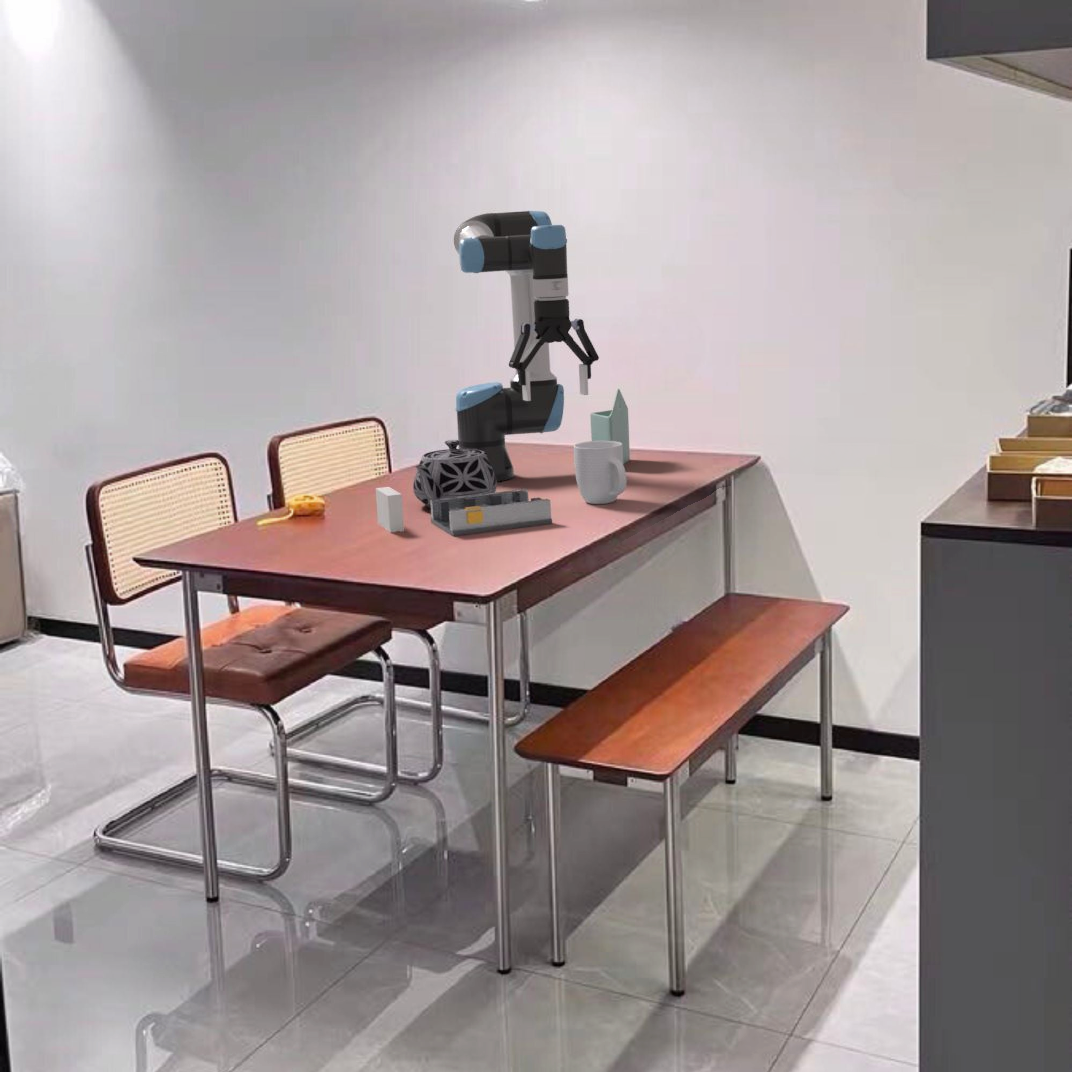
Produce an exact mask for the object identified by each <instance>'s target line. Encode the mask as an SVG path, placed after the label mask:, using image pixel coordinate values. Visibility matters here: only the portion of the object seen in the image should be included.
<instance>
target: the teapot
mask: <svg viewBox="0 0 1072 1072" xmlns="http://www.w3.org/2000/svg"><path fill="white" fill-rule="evenodd" d="M459 443H460V441H459V440H458V439H447V440H446V441H444V444H445V445H446V446H447V447H448V448H447V449H439V450H434V451H433V450H432V451H429V452H426V453H424V454H422V456H421V459H420V461H419V464H417V465H415V466H414V468H416V472H415V475H414V478H413V490H412V491H413V493H414V496H415V497H416V499H417V500H419V502H420V503H422V504H424V506H426V507H427V508H430V509H431V504H430V500H436V499H444V498H453V497H461V496H470V495H478V494H487V493H495V492H496V491H497V487H498V483H497V480H496V476H495V473H494V471H493V469H492V466H491V464H490V463H489V461H488V459H487V454H486V453H485V452H483V451H481V450H476V449H459V448H457V447H459Z"/></svg>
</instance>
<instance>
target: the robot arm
mask: <svg viewBox="0 0 1072 1072" xmlns="http://www.w3.org/2000/svg"><path fill="white" fill-rule="evenodd" d="M567 243H568V239H567V233H566V227H565V226H564V225H562V224H553V223H552V221H551V218H550V216H549V214H548V213H547V212H546V211H540V210H524V211H511V212H510V211H509V212H496V213H495V212H487V213H482V214H477V215H476V216H473V217H471V218H469V219H467V220H465V221H463V222H462V223H461V224H460V225H459V226H458V227H457V229H456V230H455V233H454V237H453V245H454V248H455V251H456V252H457V254H458V255H459V265H460V270H461V271H462V272H463V273H465V274H466V273H467V274H469V273H470V274H471V273H473V274H479V273H489V272H492V273H494V272H506V273H508V275H509V277H510V294H511V295H510V296H511V310H512V311H511V312H512V328H513V344H514V345H513V346H514V350H513V352H512V354H511V356H510V357H511V358H510V360H509V362H508V367H509V368H512V369H515V373H514V374H513V376H511V378H510V381H509V386H510V387H504V386H503V384H502V383H501V382H499V381H497V382H495V381H494V382H487V383H480V384H475V385H471V386H467V387H464V388H462V389H461V390H459V391H457V393H456V396H455V405H456V406H455V412H456V420H457V421H456V425H457V440H459V441H460V443H459V445H458V449H476V450H481V451H483V452H485V453H486V454H487V459H488V461H489V463H490V464H491V466H492V469H493V471H494V473H495V476H496V480H497V482H502V481H506V480H507V481H508V480H511V479H512V478H514V476H515V475H514V474H515V473H514V472H515V471H514V465H513V463H512V460H511V459H510V455H509V453H508V451H507V448H506V437H505V436H509V435H522V434H523V435H524V434H525V435H526V434H544V433H550V432H555V431H557V430H559V428H560V427H561V425H562V422H563V415H564V407H565V393H564V392H565V389H564V386H563V385H562V384H560V383H558V377H557V376H556V375H555V374H553V372H552V371H551V362H550V361H551V360H550V359H551V358H550V343H554V342H556V343H562V342H564V344H565V345H567V347H568V348H569V350H571V352H572V353H573V354H574V355H575V356H576V357H577V358H578V359H579V361H581V363H580V364H578V373H579V394H580V395H582V396H583V395H584V396H588V395H589V381H588V380H591V378H592V368H591V367H592V365H593V363H594V362H598V361H599V358H600V356H599V355H598V353H597V351H596V349H595V347H594V345H593V342H592V341H591V339H590V337H589V335H588V334H587V331H586V329H585V324H584V323H585V322H584V319H580V318H575V319H573V320H570V300H569V299H568V298H567V297H568V296H569V277H568V276H569V275H568V255H567V254H568V253H567V252H568V251H567ZM571 328H572V330H574V331H575V332H576V335H577V337H578V339H579V341H580V344H581V345H582V346H583V348H581V346H580V345H578V342H576V341H575V339H574V338H573V337H572V335H571V334H570V333H569V332H570V330H571ZM583 349H584V350H585V351H584V350H583Z"/></svg>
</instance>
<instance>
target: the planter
mask: <svg viewBox="0 0 1072 1072" xmlns="http://www.w3.org/2000/svg"><path fill="white" fill-rule="evenodd" d="M614 397H615V398H614V401H613V402H614V403H613V405H612V409H610V410H603V411H596V412H591V413H590V415H589V416H590V434H591V435H590V436H591V437H590V438H591V440H590V441H616V442H620V443H622V447H623V465H624V464H626V463H628V461H630V459H631V458H630V457H631V453H630V427H629V407H628V405H627V403H626V400H625V398H624V397H623V394H622V392H621V390H620V388H617V390H616V393H615V396H614Z"/></svg>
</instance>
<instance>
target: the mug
mask: <svg viewBox="0 0 1072 1072" xmlns="http://www.w3.org/2000/svg"><path fill="white" fill-rule="evenodd" d="M573 457H574V458H573V461H574V462H573V463H574V473H575V474H574V475H575V479H576V484H577V487H578V490H579V492H580V495H581V497H582V499H583V500H584V502H586V503H587V504H590V505H604V504H611V503H614V502H615V501H616V499H617V498H618V496H620V495H621V494H623V493H624V491H626V487H627V473H626V469H625V466H624V464H623V447H622V443H620V442H616V441H592V440H590V441H589V440H588V441H584V442H579V443H575V444H574V445H573Z"/></svg>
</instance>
